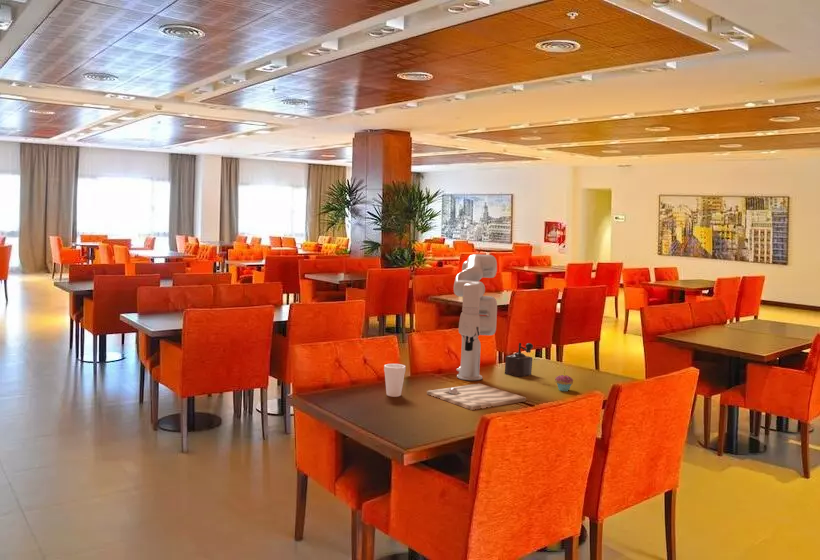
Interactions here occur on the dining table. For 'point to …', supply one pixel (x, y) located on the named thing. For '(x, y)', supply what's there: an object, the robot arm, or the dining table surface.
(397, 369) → the foam cup
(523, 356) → the coffee grinder
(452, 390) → the steel ball
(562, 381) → the cupcake
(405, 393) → the dining table surface
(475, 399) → the maple board
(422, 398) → the dining table surface
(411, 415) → the dining table surface
